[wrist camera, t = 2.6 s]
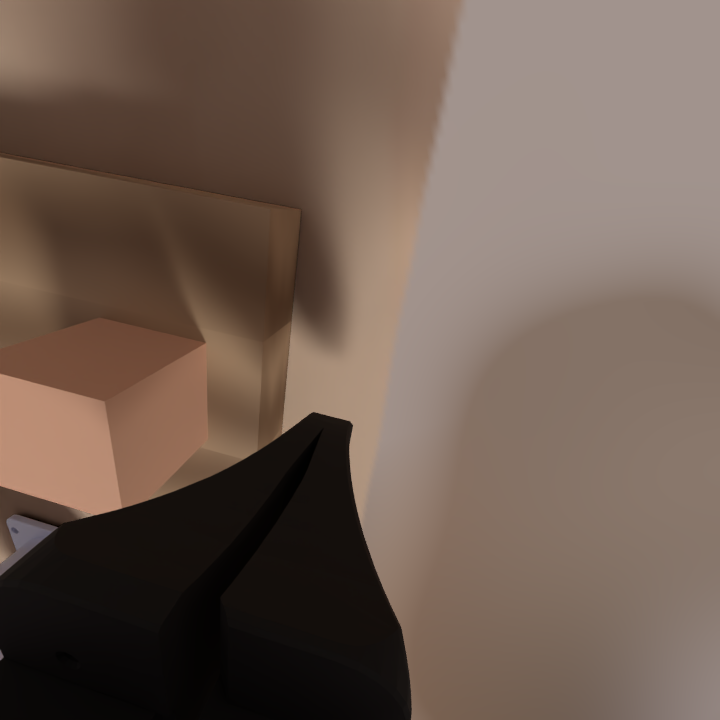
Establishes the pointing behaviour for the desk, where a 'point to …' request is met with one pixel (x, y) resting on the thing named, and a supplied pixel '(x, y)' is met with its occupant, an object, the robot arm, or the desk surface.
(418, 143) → the desk surface
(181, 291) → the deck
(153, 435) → the block
